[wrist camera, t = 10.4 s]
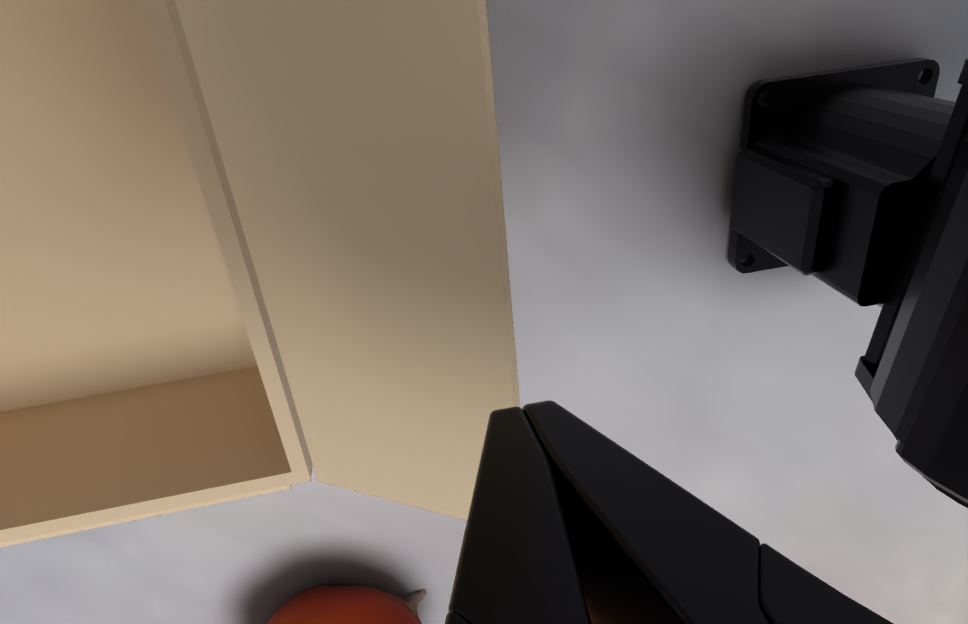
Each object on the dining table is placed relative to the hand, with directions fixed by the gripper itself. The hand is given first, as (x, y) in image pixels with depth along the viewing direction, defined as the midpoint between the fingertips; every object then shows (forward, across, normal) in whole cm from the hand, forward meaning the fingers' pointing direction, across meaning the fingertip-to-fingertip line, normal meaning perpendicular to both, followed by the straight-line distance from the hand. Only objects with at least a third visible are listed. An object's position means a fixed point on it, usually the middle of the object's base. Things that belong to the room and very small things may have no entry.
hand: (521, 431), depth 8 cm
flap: (+5, +2, -1) cm, 5 cm away
